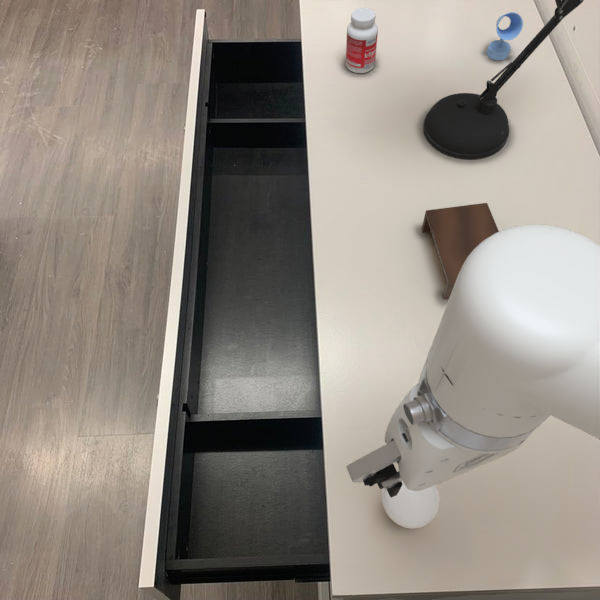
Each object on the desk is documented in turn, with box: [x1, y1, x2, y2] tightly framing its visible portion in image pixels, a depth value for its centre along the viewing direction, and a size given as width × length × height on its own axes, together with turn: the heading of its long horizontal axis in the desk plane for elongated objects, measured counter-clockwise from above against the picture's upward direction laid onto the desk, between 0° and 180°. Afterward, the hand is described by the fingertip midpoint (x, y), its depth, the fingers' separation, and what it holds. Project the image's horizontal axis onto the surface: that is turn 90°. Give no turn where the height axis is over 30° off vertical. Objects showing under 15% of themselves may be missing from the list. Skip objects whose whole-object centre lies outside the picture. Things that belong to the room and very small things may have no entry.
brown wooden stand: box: [421, 202, 499, 301], centre depth 83 cm, size 10×14×5 cm
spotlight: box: [486, 11, 524, 61], centre depth 107 cm, size 5×10×7 cm
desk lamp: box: [422, 0, 585, 160], centre depth 81 cm, size 24×26×45 cm
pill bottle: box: [345, 7, 379, 74], centre depth 107 cm, size 6×6×11 cm
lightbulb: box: [381, 469, 441, 530], centre depth 61 cm, size 6×6×11 cm
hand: (434, 459), depth 47 cm, fingers open, 9 cm apart
